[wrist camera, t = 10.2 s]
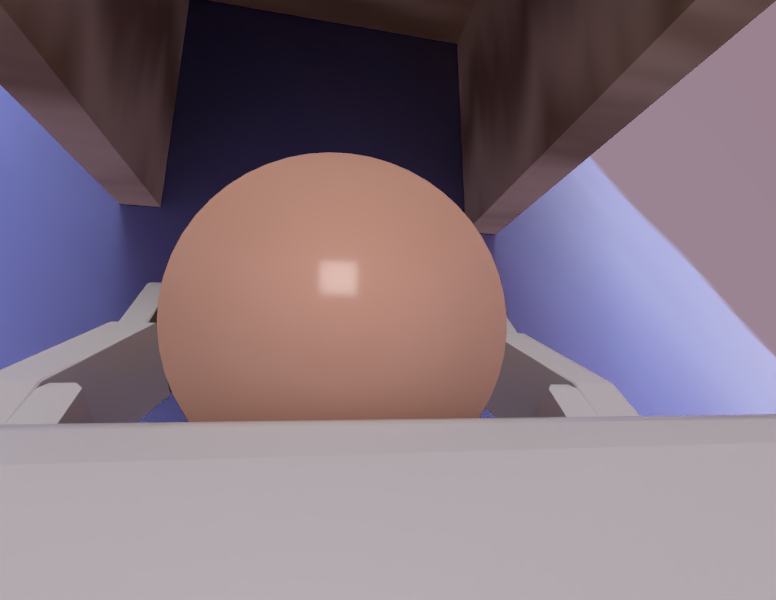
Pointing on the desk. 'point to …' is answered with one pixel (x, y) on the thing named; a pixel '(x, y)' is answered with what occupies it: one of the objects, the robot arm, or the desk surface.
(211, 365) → the peach rounded capsule
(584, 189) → the desk surface
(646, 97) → the wooden shelf
